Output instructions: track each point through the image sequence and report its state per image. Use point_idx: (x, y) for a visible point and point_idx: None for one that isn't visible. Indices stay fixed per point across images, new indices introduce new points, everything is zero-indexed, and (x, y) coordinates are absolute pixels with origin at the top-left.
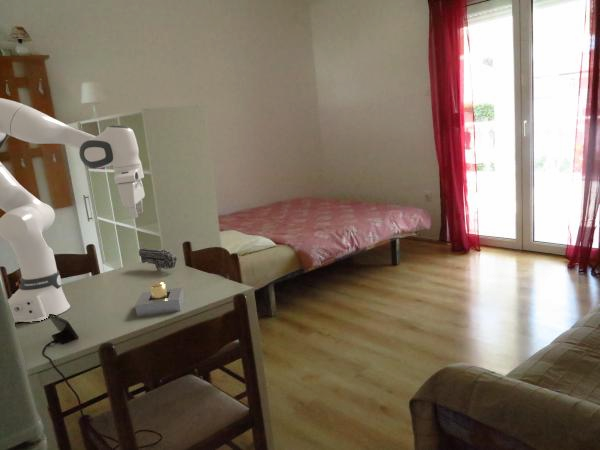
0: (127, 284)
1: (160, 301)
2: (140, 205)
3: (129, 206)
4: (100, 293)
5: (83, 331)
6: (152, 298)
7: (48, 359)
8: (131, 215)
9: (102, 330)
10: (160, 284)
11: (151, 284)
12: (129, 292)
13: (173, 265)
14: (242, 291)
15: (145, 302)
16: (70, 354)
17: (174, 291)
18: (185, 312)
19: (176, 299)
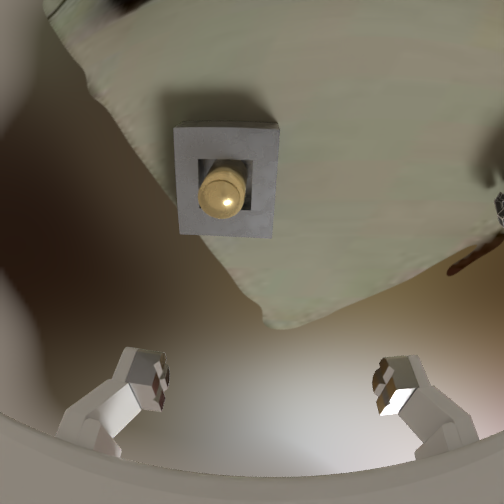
0: (475, 83)
1: (179, 192)
2: (414, 421)
3: (64, 434)
4: (440, 14)
5: (160, 8)
6: (215, 166)
7: (55, 8)
8: (118, 365)
9: (148, 51)
10: (204, 209)
11: (215, 183)
12: (414, 81)
13: (495, 207)
14: (269, 323)
15: (186, 152)
16: (59, 38)
17: (246, 220)
18: None
19: (180, 229)
